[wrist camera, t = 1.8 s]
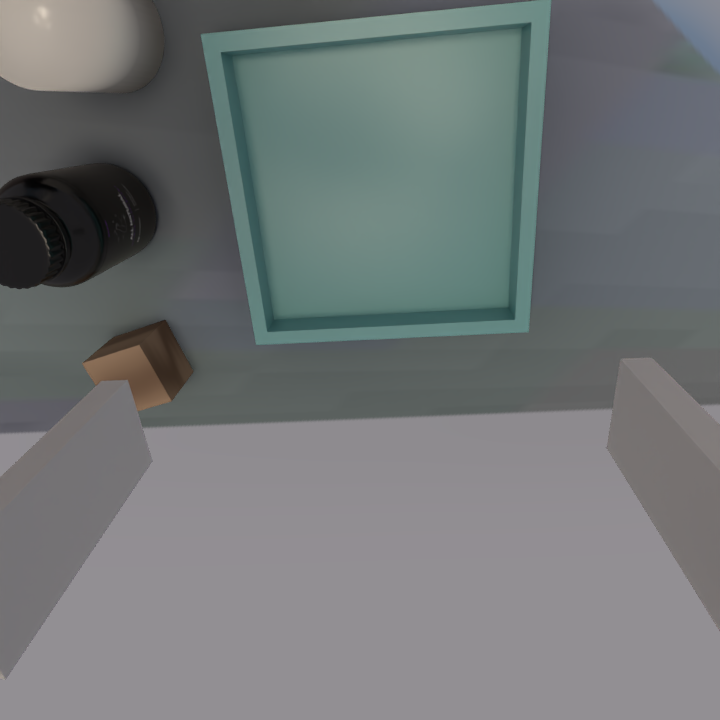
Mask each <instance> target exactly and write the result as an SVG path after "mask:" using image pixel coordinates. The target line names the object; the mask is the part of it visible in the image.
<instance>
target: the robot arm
mask: <svg viewBox="0 0 720 720" xmlns="http://www.w3.org/2000/svg"><path fill="white" fill-rule="evenodd" d="M607 449H608V451H609V453H610V454H611V456H612V457H613V459H614V461H615V462H616V463H617V466H618V467H619V469H620V470H621V472H622V473H623V475H624V477H625V478H626V480H627V482H628V483H629V485H630V486H631V488H632V490H633V491H634V493H635V495H636V496H637V498H638V499H639V501H640V503H641V504H642V506H643V508H644V509H645V511H646V512H647V514H648V516H649V517H650V519H651V520H652V522H653V524H654V525H655V527H656V529H657V530H658V532H659V533H660V535H661V536H662V538H663V540H664V542H665V543H666V545H667V546H668V548H669V550H670V551H671V553H672V555H673V556H674V558H675V559H676V561H677V563H678V564H679V566H680V567H681V569H682V570H683V572H684V574H685V576H686V577H687V579H688V580H689V582H690V584H691V585H692V587H693V589H694V590H695V592H696V593H697V595H698V597H699V598H700V600H701V601H702V603H703V605H704V606H705V608H706V610H707V611H708V613H709V614H710V616H711V618H712V619H713V621H714V622H715V624H716V626H717V627H718V629H719V631H720V424H719V423H717V422H716V421H715V420H714V419H713V418H712V417H711V416H710V415H709V414H708V413H707V412H706V411H705V410H704V409H703V408H702V407H701V406H700V405H699V404H698V403H697V402H696V401H695V400H694V399H693V398H692V397H691V396H690V395H689V394H688V393H687V392H686V391H685V390H684V389H683V388H682V387H681V386H680V385H679V384H678V383H677V382H676V381H675V380H674V379H673V378H672V377H671V376H670V375H669V374H668V373H667V372H666V371H665V370H664V369H663V368H662V367H661V366H660V365H659V364H658V363H657V362H656V361H655V360H654V359H653V358H631V359H620V365H619V372H618V378H617V384H616V391H615V397H614V404H613V410H612V417H611V423H610V431H609V436H608V443H607ZM151 462H152V458H151V455H150V451H149V448H148V445H147V441H146V438H145V435H144V431H143V428H142V425H141V422H140V418H139V415H138V412H137V408H136V405H135V402H134V399H133V395H132V392H131V389H130V386H129V382H128V380H113V381H101V382H100V383H99V384H98V385H97V386H96V387H95V388H93V389H92V390H91V391H90V392H89V393H88V394H87V395H86V396H85V397H84V398H83V399H82V400H81V401H80V402H79V403H78V404H77V405H76V406H75V407H74V408H72V409H71V410H70V411H69V412H68V413H67V414H66V415H65V416H64V417H63V418H62V419H61V420H60V421H59V422H58V423H57V424H56V425H55V426H54V427H53V428H51V429H50V430H49V431H48V432H47V433H46V434H45V435H44V436H43V437H42V438H41V439H40V440H39V441H38V442H37V443H36V444H35V445H34V446H33V447H32V448H31V449H29V450H28V451H27V452H26V453H25V454H24V455H23V456H22V457H21V458H20V459H19V460H18V461H17V462H16V463H15V464H14V465H13V466H12V467H11V468H10V469H8V470H7V471H6V472H5V473H4V474H3V475H2V476H1V477H0V679H6V678H7V677H8V675H9V674H10V672H11V671H12V669H13V668H14V666H15V665H16V663H17V662H18V660H19V659H20V657H21V656H22V654H23V653H24V651H25V650H26V648H27V647H28V646H29V644H30V643H31V641H32V640H33V638H34V636H35V635H36V634H37V632H38V631H39V629H40V628H41V626H42V625H43V623H44V622H45V620H46V619H47V617H48V616H49V614H50V613H51V611H52V610H53V608H54V607H55V605H56V604H57V602H58V601H59V599H60V598H61V596H62V595H63V593H64V592H65V591H66V589H67V588H68V586H69V584H70V583H71V581H72V580H73V579H74V577H75V576H76V574H77V573H78V571H79V570H80V568H81V567H82V565H83V564H84V562H85V560H86V559H87V558H88V556H89V555H90V553H91V552H92V550H93V549H94V547H95V546H96V544H97V543H98V541H99V540H100V538H101V537H102V535H103V534H104V532H105V531H106V530H107V528H108V527H109V525H110V523H111V522H112V521H113V519H114V518H115V516H116V515H117V513H118V512H119V510H120V508H121V507H122V506H123V504H124V503H125V501H126V500H127V498H128V497H129V495H130V494H131V492H132V491H133V489H134V488H135V486H136V485H137V483H138V482H139V480H140V479H141V477H142V476H143V474H144V473H145V471H146V470H147V469H148V467H149V465H150V464H151Z"/></svg>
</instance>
